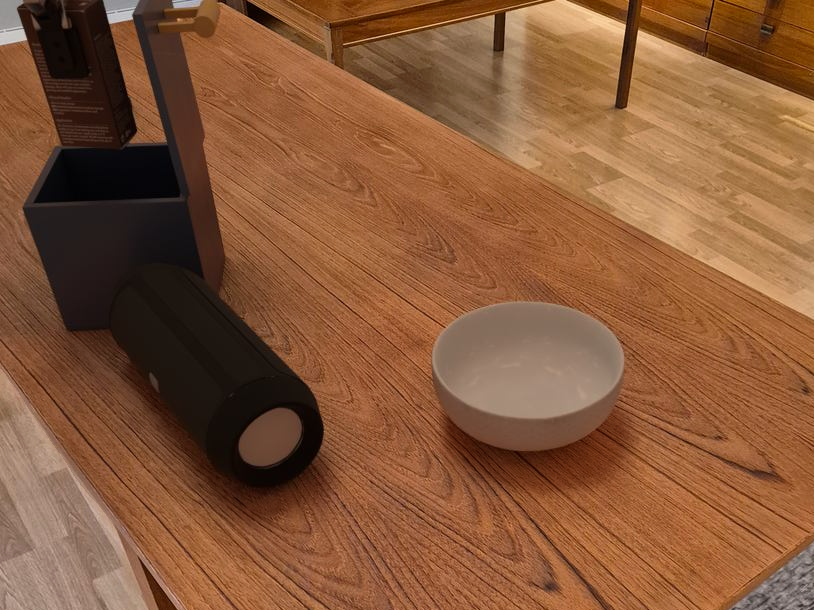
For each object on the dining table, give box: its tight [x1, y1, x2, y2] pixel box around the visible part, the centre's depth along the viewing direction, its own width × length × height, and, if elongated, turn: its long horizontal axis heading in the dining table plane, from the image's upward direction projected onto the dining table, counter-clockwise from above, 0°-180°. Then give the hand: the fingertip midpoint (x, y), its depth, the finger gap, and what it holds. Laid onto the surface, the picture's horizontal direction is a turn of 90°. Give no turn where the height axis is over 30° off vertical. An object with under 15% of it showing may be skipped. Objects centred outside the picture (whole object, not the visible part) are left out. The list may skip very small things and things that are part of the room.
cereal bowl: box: [430, 301, 626, 452], centre depth 78 cm, size 17×17×7 cm
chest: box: [21, 141, 226, 332], centre depth 91 cm, size 15×14×13 cm
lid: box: [131, 0, 221, 196], centre depth 81 cm, size 15×14×6 cm
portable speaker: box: [108, 263, 325, 490], centre depth 77 cm, size 26×10×10 cm, turn 37°
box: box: [16, 0, 139, 149], centre depth 80 cm, size 6×4×12 cm
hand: (76, 63), depth 79 cm, fingers closed on box, 5 cm apart
